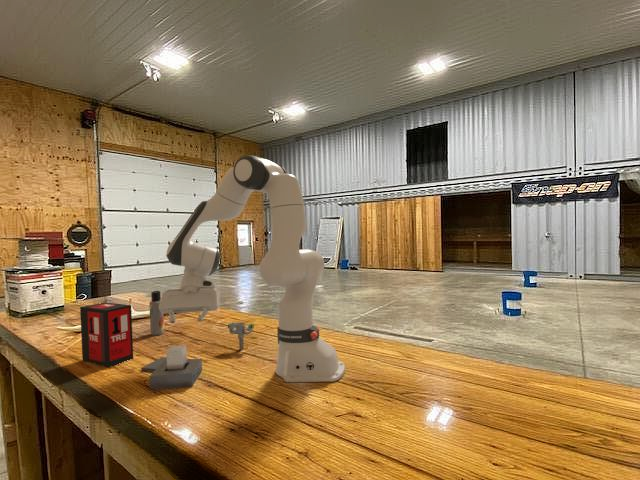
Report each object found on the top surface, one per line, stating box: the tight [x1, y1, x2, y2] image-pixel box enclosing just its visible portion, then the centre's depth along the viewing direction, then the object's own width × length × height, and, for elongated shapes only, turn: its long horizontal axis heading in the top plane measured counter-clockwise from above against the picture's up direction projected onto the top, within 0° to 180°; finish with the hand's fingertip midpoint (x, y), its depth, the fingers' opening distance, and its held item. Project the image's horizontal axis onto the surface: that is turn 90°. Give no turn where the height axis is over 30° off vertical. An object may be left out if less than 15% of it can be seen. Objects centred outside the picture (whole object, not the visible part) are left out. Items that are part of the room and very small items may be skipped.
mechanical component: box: [227, 322, 255, 351], centre depth 131 cm, size 3×10×10 cm, turn 79°
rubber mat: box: [140, 356, 167, 373], centre depth 116 cm, size 10×10×1 cm
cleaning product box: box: [79, 301, 134, 368], centre depth 124 cm, size 16×9×20 cm, turn 62°
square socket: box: [149, 357, 203, 391], centre depth 105 cm, size 12×12×4 cm
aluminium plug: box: [166, 344, 188, 371], centre depth 105 cm, size 4×4×10 cm
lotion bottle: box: [148, 290, 165, 336], centre depth 156 cm, size 6×6×20 cm
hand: (186, 321), depth 115 cm, fingers open, 8 cm apart
